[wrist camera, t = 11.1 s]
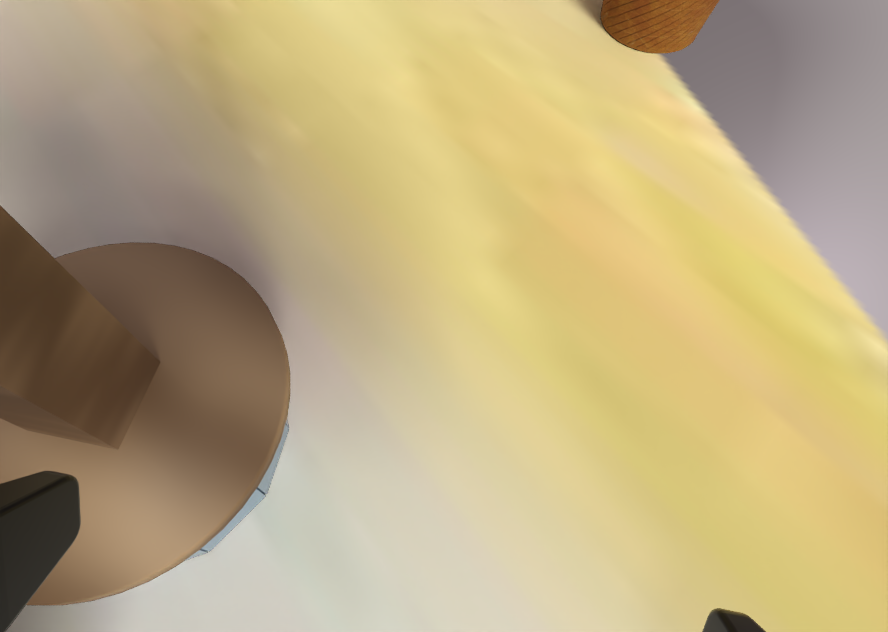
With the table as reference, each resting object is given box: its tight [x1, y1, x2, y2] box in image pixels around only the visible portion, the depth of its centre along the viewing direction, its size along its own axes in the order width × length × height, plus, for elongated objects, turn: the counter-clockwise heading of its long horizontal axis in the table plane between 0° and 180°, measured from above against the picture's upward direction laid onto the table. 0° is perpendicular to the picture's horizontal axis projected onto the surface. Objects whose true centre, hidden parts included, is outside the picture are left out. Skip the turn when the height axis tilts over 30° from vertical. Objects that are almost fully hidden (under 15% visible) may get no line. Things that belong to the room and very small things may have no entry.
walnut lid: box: [0, 206, 290, 605], centre depth 14 cm, size 12×12×10 cm
